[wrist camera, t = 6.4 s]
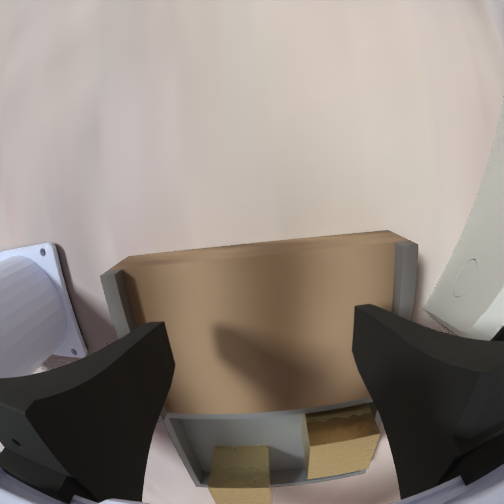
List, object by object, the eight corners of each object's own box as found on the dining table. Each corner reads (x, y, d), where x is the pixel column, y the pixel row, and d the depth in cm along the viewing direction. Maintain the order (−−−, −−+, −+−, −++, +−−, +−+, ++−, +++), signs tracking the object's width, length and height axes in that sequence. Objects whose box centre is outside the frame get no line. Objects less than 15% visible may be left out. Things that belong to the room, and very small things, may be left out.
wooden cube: (214, 446, 18) (222, 471, 19) (208, 487, 14) (218, 508, 15) (268, 445, 18) (270, 470, 19) (269, 487, 14) (271, 508, 15)
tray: (199, 469, 20) (196, 486, 18) (166, 392, 17) (159, 412, 15) (359, 456, 19) (365, 473, 17) (377, 374, 17) (387, 392, 15)
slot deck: (164, 387, 17) (151, 420, 14) (128, 256, 15) (99, 276, 12) (378, 368, 16) (396, 400, 13) (388, 230, 14) (418, 244, 11)
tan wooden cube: (302, 399, 17) (301, 436, 18) (310, 446, 13) (307, 479, 14) (362, 390, 16) (355, 428, 17) (380, 433, 13) (368, 468, 14)
